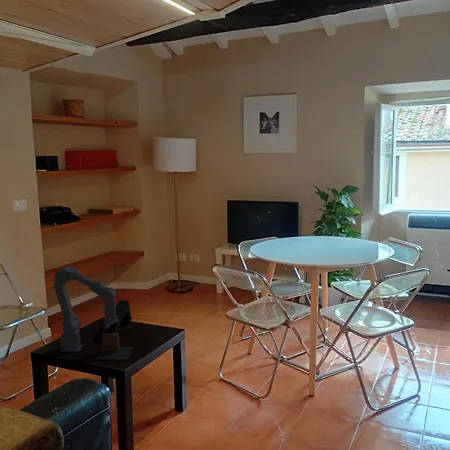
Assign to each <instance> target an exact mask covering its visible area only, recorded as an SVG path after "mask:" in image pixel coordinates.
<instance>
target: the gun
mask: <svg viewBox="0 0 450 450" xmlns="http://www.w3.org/2000/svg"><path fill="white" fill-rule="evenodd" d="M115 307H116V319H118V320H119V321H118V322H117V325H116V327H115V332H114V333H117V331H118V330H119V328H120V326H121V325H120V324H122V325H123V324H125V325H129V324H131V321H132V319H133V317H132V314H131V309H130V307H131V306H130V303H129V300H124V299H123V300H118V301H117V304H115ZM103 333H108V332H107V330H106V329H105V325H104V327H103V329H102V334H103Z"/></svg>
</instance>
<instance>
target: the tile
mask: <svg viewBox="0 0 450 450" xmlns="http://www.w3.org/2000/svg"><path fill="white" fill-rule="evenodd" d="M101 338H102V339H101V340H102V349H103V351H109V350H119V347H120V339H119V333H118V332H116V333H103V332H102V334H101Z"/></svg>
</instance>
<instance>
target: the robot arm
mask: <svg viewBox="0 0 450 450" xmlns="http://www.w3.org/2000/svg"><path fill="white" fill-rule="evenodd" d="M69 281H77V282H79V283H81V284H83V285H85V286H87V287H88V288H89V290H90V291H91V292H92V293H93V294H96V295H97V296H99V297H101V299H102V301H103V309H104V313H103V314H104V326H105V329H106V330H107V332H108V333H114V332H115V327H116V325H117V322H118V321H119V320H118V319H116V296H117V291H116V290H115V289H114V288H113V287H109V286H105V285H104V284H103V283H102V282H101V281H97V280H92V279H90V278H89V277H87V276H86V275H84V274H83V273H81V272H80V271H79V270H78V269H77V268H76V267H73V266H72V265H69V264H68V265H65V266H64V267H62V268H60V269H59V270H57V271H56V272H55V274H54V280H53V288H54V291H55V294H56V297H57V301H58V303H59V307H60V310H61V313H62V317H63V318H62V332H61V335H60V352H61V353H62V352H68V353H69V352H70V353H71V352H74V353H76V352H79V351H80V350H81V349H82V347H83V346H84V344H81V335H80V333H81V332H80V327H81V326H82V322H81V319H80V318H79V317H78V315H77V314H76V313H74V309H73V306H72V303H71V299H70V296H69V293H68V290H67V287H66V285H67V282H69Z"/></svg>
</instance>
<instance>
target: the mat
mask: <svg viewBox="0 0 450 450" xmlns="http://www.w3.org/2000/svg"><path fill="white" fill-rule="evenodd" d="M134 348H135V347H134V346H119V350H109V351H103V348H101V351H100V352H99V353H98V354H97V356H96V358H95V361H97V362H98V361H101V362H103V361H106V362H107V361H110V362H111V361H128V360H129V358H130V356H131V354H132V352H133V351H134Z"/></svg>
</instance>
